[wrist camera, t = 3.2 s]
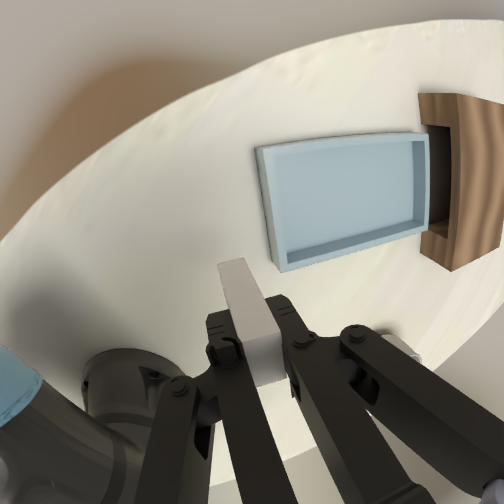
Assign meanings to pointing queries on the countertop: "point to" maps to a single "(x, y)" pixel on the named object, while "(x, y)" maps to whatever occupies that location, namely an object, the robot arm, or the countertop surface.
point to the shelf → (468, 178)
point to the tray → (342, 194)
